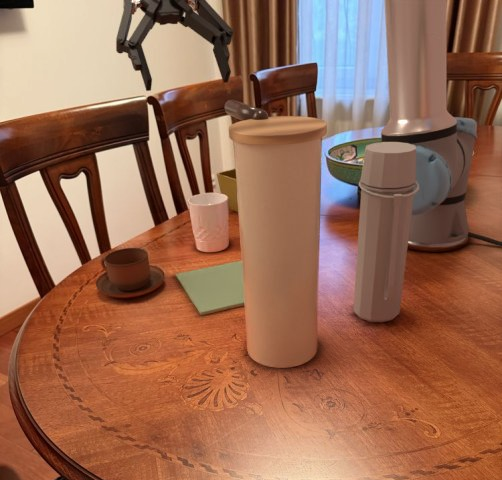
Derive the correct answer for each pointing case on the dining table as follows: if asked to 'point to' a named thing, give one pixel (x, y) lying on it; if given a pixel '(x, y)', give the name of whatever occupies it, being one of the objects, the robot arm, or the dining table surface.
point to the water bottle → (384, 228)
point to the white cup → (209, 221)
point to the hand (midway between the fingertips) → (189, 81)
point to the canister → (280, 249)
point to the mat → (214, 287)
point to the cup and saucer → (128, 274)
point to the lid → (271, 126)
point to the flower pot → (229, 187)
